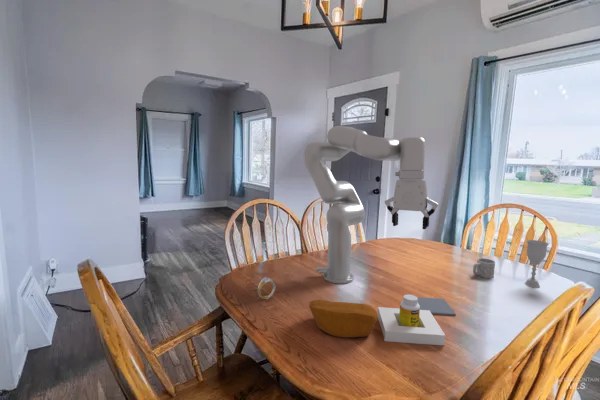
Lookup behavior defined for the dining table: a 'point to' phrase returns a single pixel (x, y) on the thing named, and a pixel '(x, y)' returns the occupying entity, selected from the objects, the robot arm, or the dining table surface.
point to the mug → (484, 268)
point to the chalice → (535, 258)
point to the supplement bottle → (409, 311)
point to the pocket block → (410, 328)
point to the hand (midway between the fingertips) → (409, 227)
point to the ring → (263, 285)
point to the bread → (344, 318)
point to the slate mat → (435, 306)
